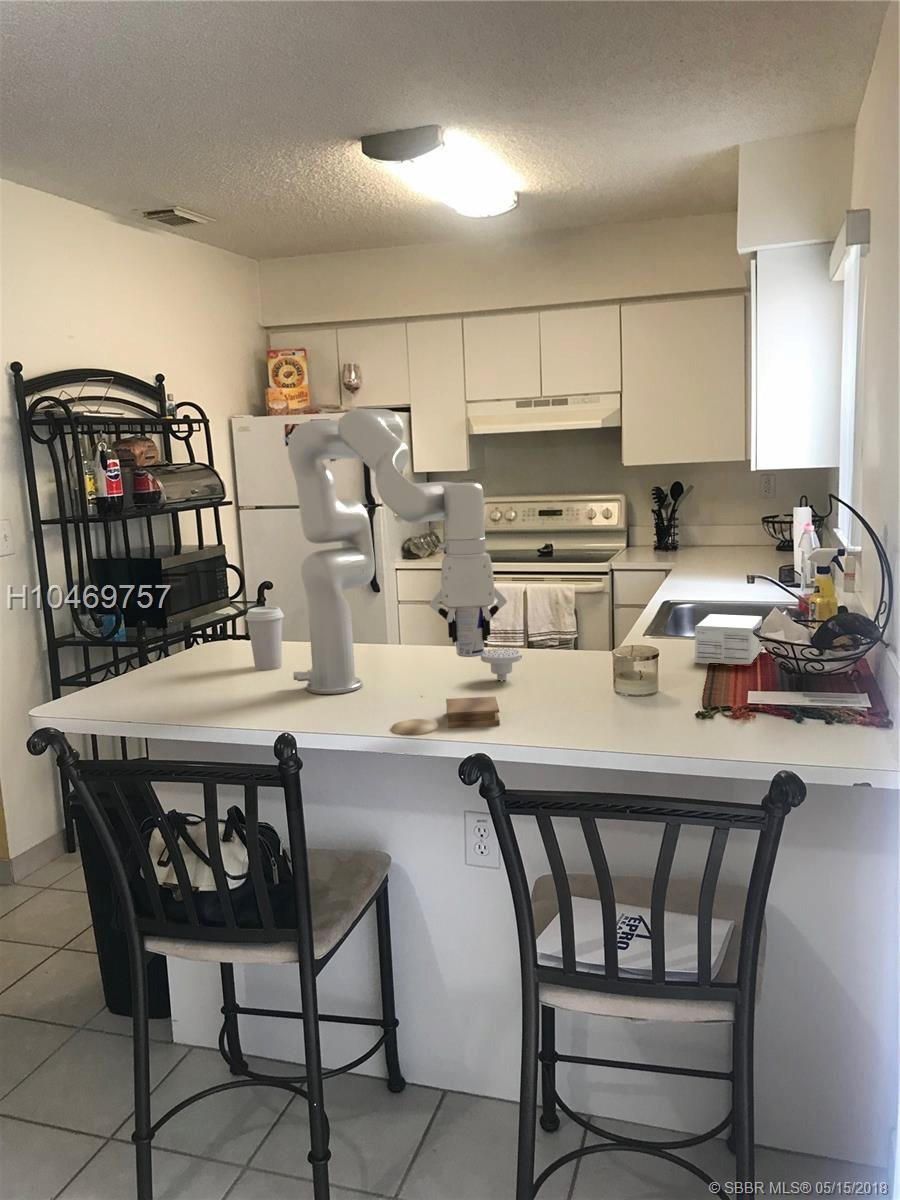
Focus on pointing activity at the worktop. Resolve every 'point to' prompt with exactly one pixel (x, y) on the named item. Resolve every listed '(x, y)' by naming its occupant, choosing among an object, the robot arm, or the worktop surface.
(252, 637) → the coffee cup
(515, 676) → the worktop surface
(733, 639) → the supplement box
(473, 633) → the energy drink
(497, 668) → the showerhead
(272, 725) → the worktop surface
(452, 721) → the walnut stand
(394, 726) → the cork coaster
